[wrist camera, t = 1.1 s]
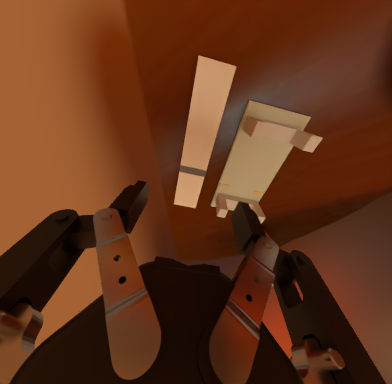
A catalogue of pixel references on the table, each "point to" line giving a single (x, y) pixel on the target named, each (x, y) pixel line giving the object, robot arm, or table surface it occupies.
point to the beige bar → (202, 126)
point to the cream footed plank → (259, 155)
